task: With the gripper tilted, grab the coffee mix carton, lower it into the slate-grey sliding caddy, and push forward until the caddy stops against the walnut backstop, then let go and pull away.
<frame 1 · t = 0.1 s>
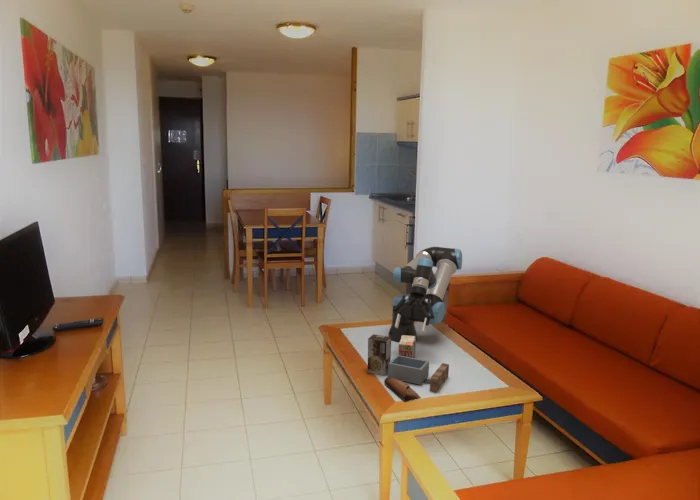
hand: (409, 329, 256), 15 cm above the table, tool tilted 35°, fingers open, 13 cm apart
stack of blocks: (406, 361, 258), on the table
walnut backstop: (439, 384, 233), on the table
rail: (413, 378, 238), on the table
sunglasses case: (402, 392, 226), on the table
coffee box: (378, 372, 245), on the table
caddy: (408, 369, 238), point 4 cm above the table, slide at 0.0 cm
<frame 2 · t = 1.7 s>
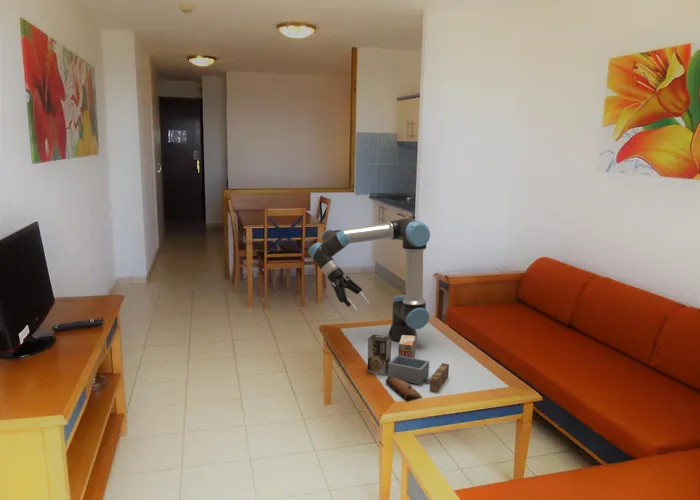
hand: (361, 307, 249), 27 cm above the table, tool tilted 45°, fingers open, 13 cm apart
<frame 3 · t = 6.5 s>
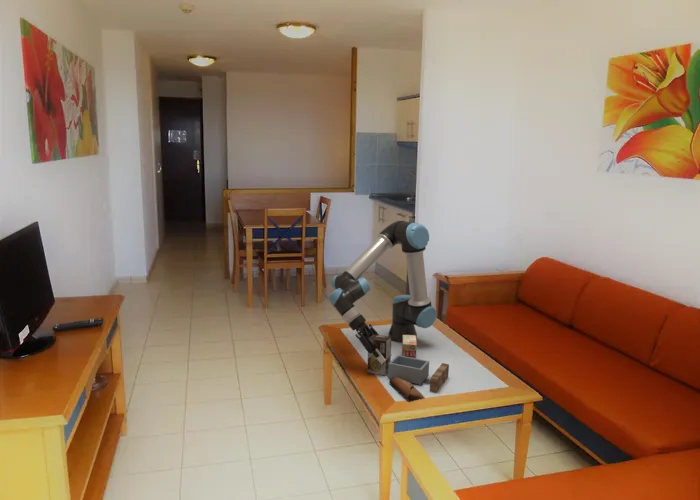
hand: (386, 359, 242), 6 cm above the table, tool tilted 45°, fingers closed on coffee box, 6 cm apart
sunglasses case: (406, 392, 226), on the table
coffee box: (378, 372, 245), on the table, touching gripper
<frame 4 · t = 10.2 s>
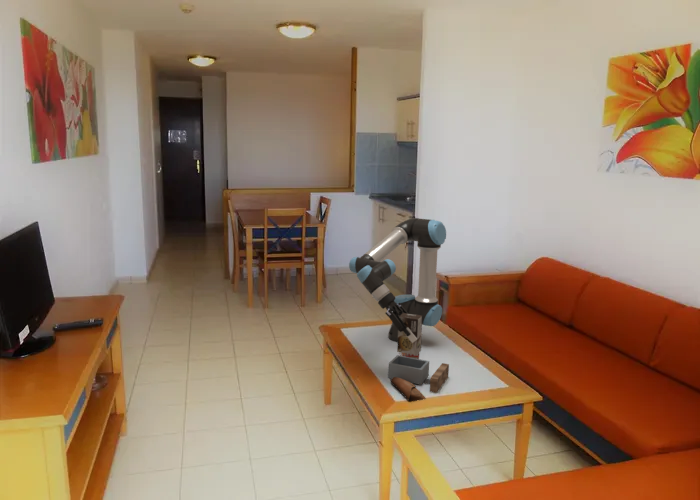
hand: (417, 338, 234), 19 cm above the table, tool tilted 45°, fingers closed on coffee box, 6 cm apart
coffee box: (408, 351, 237), point 12 cm above the table, touching gripper
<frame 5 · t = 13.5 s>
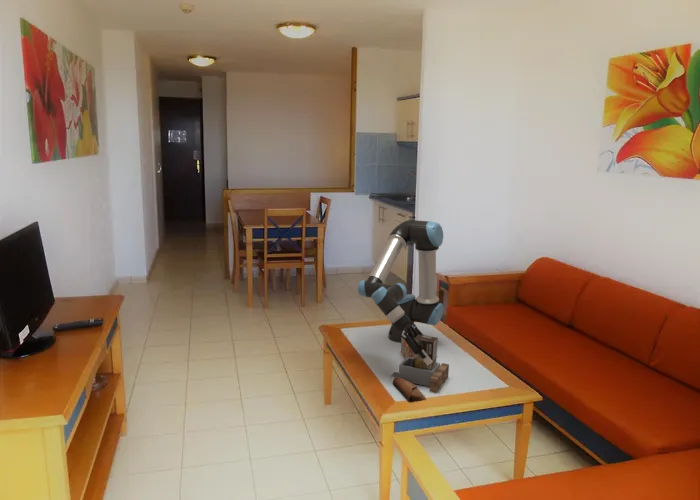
hand: (432, 360, 233), 10 cm above the table, tool tilted 45°, fingers closed on coffee box, 6 cm apart
coffee box: (423, 373, 235), point 3 cm above the table, touching caddy, gripper
caddy: (419, 371, 236), point 4 cm above the table, slide at 5.0 cm, touching coffee box, walnut backstop
when the fingers open (10 cm above the table, at t = 13.9 s): coffee box drops 2 cm, resting on caddy.
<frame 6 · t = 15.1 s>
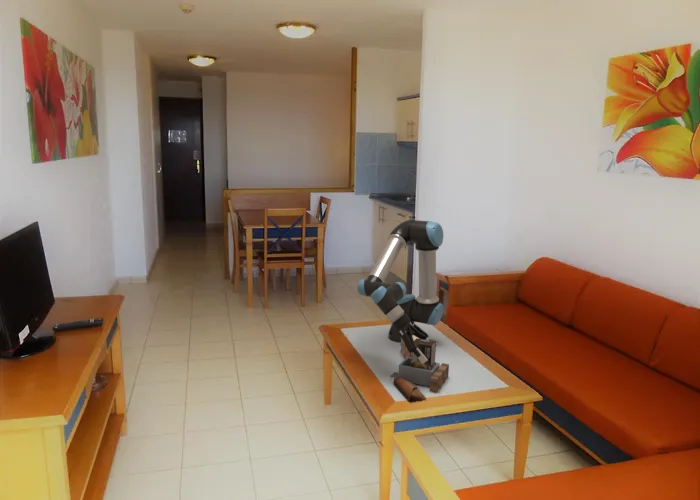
hand: (430, 356, 233), 11 cm above the table, tool tilted 45°, fingers open, 13 cm apart
coffee box: (422, 377, 236), point 1 cm above the table, touching caddy
caddy: (419, 371, 236), point 4 cm above the table, slide at 4.7 cm, touching coffee box
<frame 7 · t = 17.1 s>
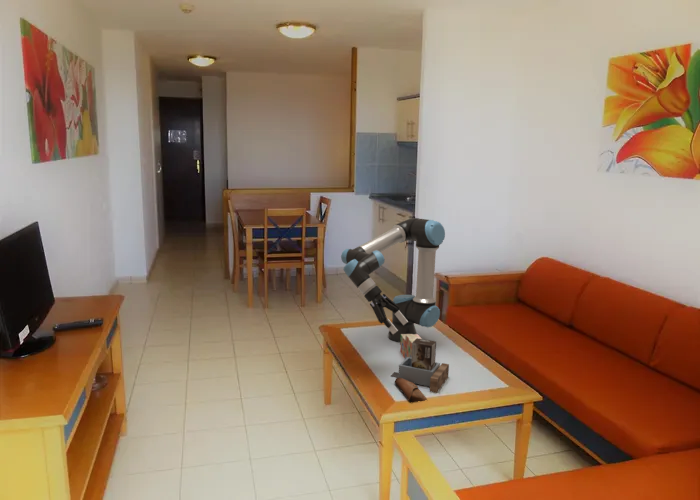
hand: (400, 328, 238), 22 cm above the table, tool tilted 45°, fingers open, 13 cm apart
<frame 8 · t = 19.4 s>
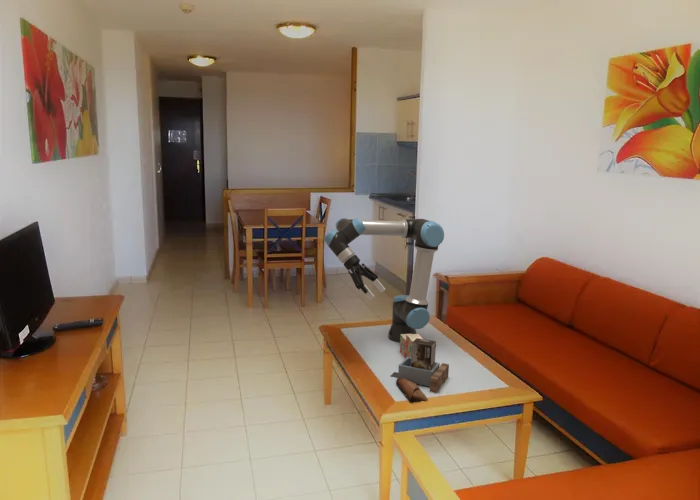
hand: (377, 294, 250), 33 cm above the table, tool tilted 45°, fingers open, 13 cm apart
at the end: caddy slide at 4.7 cm; coffee box inside the target area (1.0 cm from its centre), point 1.5 cm above the table; coffee box tilted 0° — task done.
